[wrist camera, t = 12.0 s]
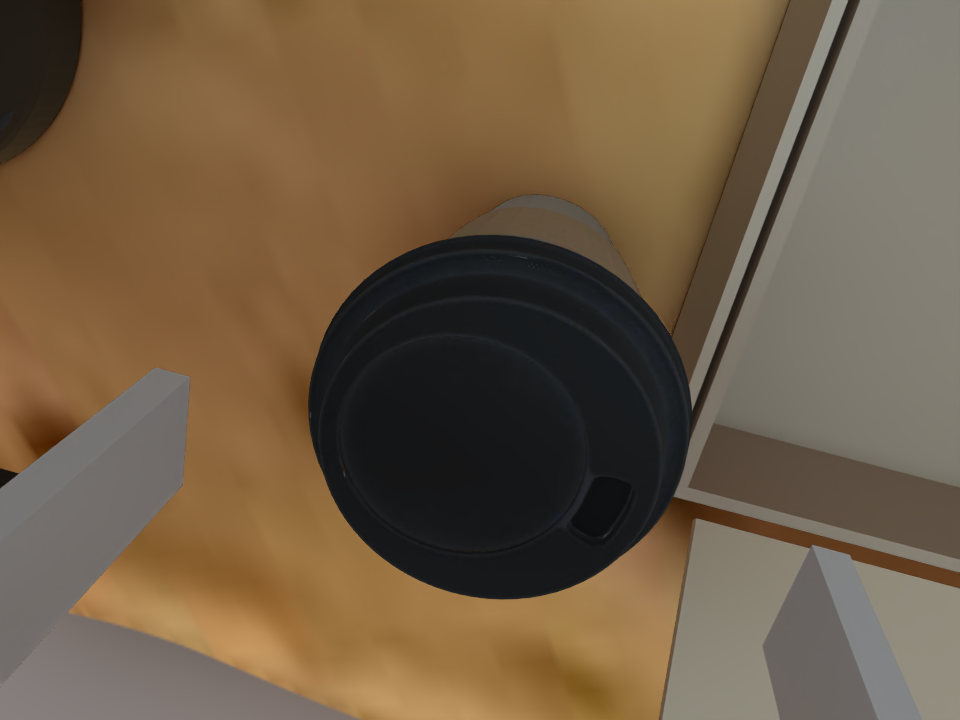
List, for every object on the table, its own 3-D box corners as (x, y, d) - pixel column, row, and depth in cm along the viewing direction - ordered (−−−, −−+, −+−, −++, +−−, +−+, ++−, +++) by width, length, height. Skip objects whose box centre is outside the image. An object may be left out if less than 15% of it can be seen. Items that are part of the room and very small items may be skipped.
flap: (696, 518, 28) (692, 519, 28) (654, 761, 25) (652, 759, 25) (1221, 658, 27) (1210, 657, 27) (1232, 922, 24) (1219, 918, 25)
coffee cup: (660, 371, 33) (698, 631, 19) (435, 377, 34) (322, 621, 21) (658, 134, 29) (703, 247, 15) (406, 153, 31) (245, 271, 17)
